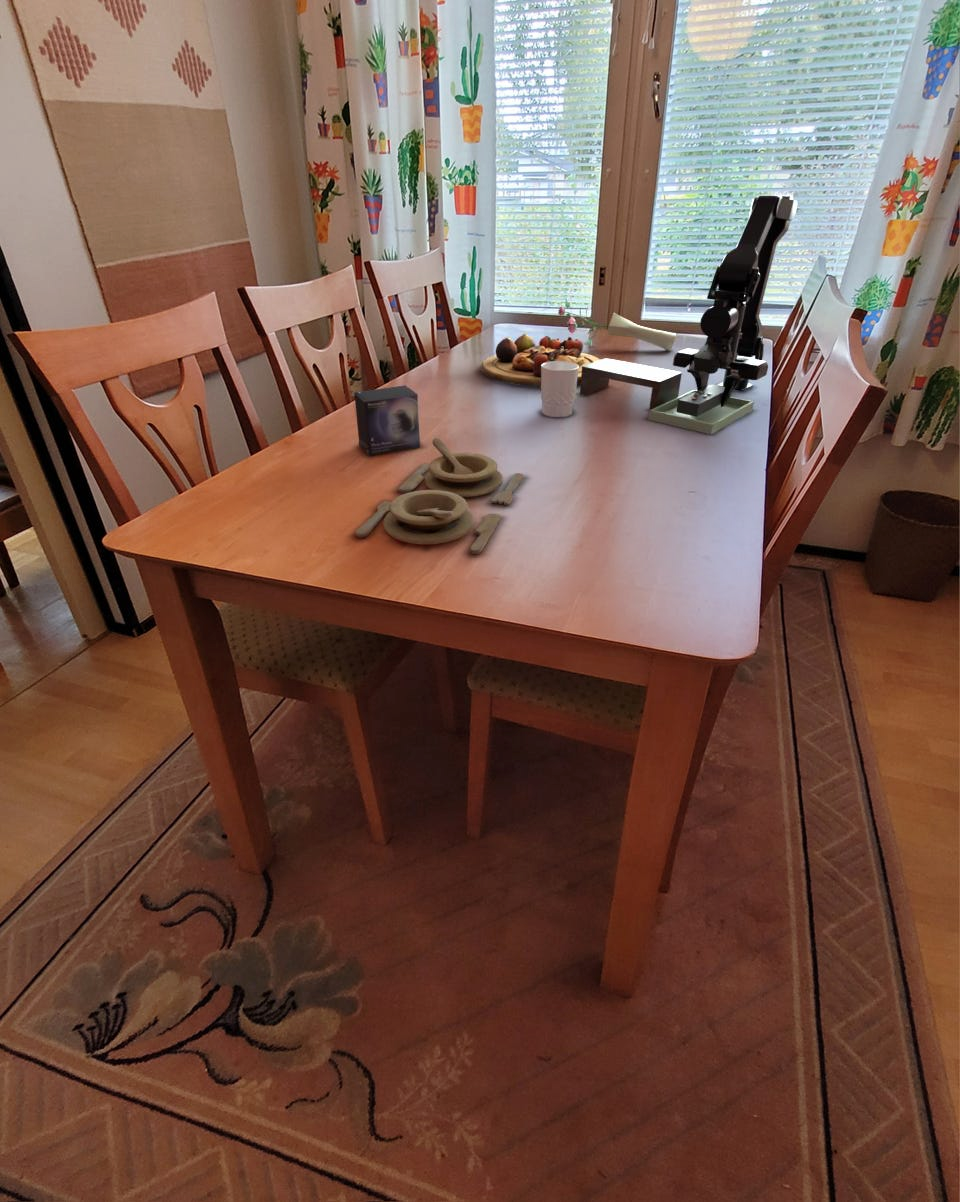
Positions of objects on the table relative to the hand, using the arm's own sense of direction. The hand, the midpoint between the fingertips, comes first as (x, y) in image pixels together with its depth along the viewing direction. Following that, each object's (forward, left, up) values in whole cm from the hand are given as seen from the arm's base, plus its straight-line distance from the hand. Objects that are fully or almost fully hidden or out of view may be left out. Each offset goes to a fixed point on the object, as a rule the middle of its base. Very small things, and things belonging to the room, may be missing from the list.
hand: (711, 404), depth 142 cm
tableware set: (+73, -10, -1) cm, 73 cm away
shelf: (+4, -18, -1) cm, 19 cm away
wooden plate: (-1, -47, -1) cm, 48 cm away
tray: (+5, 0, -1) cm, 5 cm away
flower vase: (-37, -48, -2) cm, 61 cm away
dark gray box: (+5, 0, +1) cm, 5 cm away
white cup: (+24, -24, -1) cm, 34 cm away
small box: (+62, -36, -2) cm, 72 cm away
